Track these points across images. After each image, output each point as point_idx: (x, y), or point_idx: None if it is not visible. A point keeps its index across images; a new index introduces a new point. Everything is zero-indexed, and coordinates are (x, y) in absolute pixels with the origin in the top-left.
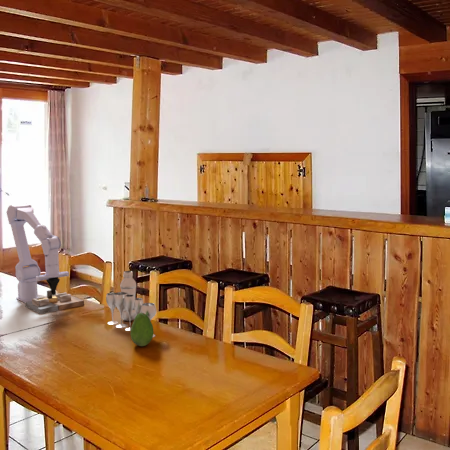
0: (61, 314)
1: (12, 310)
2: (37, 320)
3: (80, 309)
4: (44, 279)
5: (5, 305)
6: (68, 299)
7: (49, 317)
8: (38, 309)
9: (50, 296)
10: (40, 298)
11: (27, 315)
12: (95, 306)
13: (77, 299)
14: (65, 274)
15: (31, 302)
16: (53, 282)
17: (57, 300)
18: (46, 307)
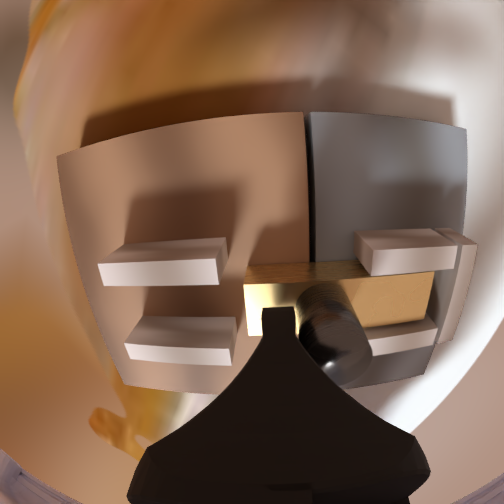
0: (325, 6)
1: (480, 323)
2: (478, 35)
3: (145, 43)
4: (473, 498)
5: (435, 405)
6: (144, 245)
7: (416, 16)
8: (462, 162)
9: (334, 295)
10: (398, 331)
11: (496, 169)
12: (50, 79)
13: (82, 215)
14: (18, 493)
15: (408, 355)
16: (350, 441)
17: (248, 269)
18: (417, 137)
